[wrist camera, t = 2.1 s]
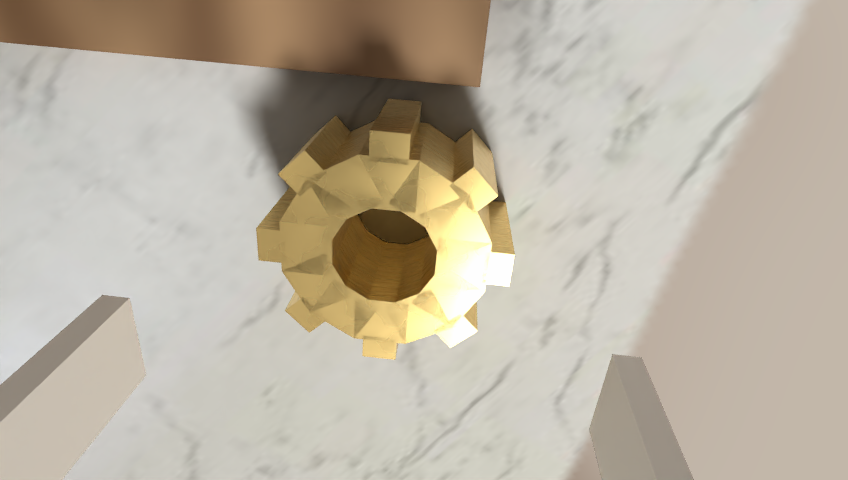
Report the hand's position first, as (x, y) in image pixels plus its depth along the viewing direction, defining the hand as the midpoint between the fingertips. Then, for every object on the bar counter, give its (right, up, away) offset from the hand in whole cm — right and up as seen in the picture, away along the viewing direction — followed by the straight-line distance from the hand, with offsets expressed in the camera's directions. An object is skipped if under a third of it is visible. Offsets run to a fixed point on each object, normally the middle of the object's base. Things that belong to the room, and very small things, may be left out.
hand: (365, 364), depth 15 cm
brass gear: (0, +5, +10) cm, 11 cm away
